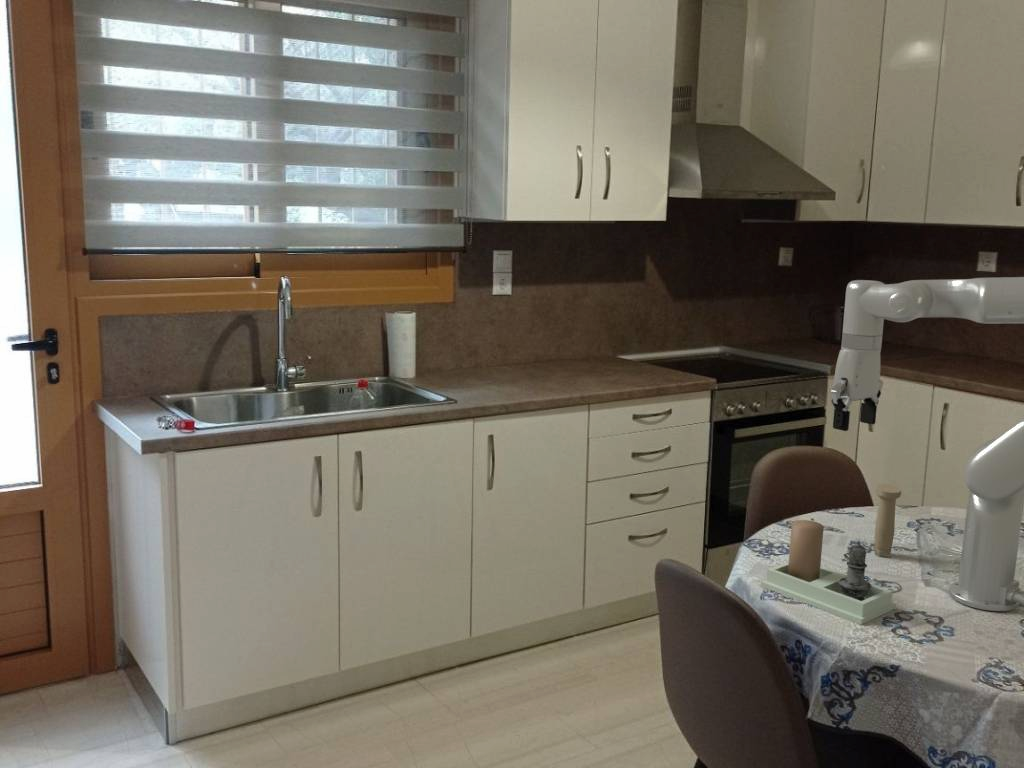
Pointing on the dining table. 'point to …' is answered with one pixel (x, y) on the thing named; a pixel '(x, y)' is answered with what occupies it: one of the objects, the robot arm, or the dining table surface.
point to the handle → (885, 518)
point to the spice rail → (821, 579)
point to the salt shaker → (855, 574)
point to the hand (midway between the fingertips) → (854, 426)
